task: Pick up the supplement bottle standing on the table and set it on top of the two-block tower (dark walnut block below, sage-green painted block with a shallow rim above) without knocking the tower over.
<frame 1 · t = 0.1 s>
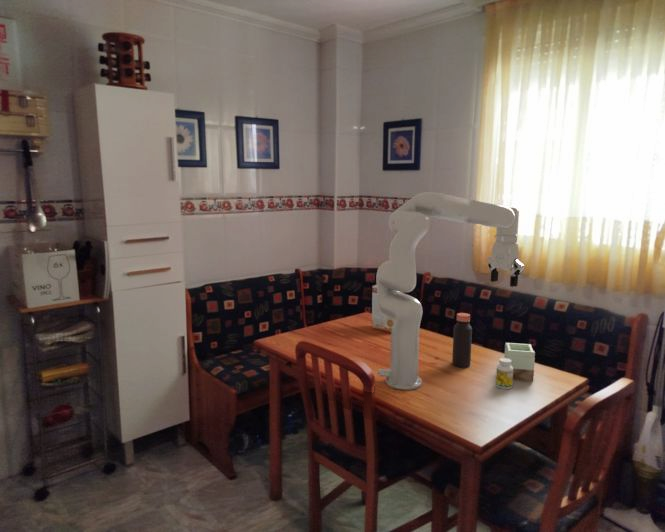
hand: (503, 283, 186), 31 cm above the table, tool pointing down, fingers open, 9 cm apart
supplement bottle: (503, 386, 169), on the table
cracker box: (386, 330, 231), on the table
vinegar: (461, 364, 189), on the table
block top: (518, 364, 177), point 4 cm above the table, touching block lower
block lower: (518, 376, 178), on the table, touching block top
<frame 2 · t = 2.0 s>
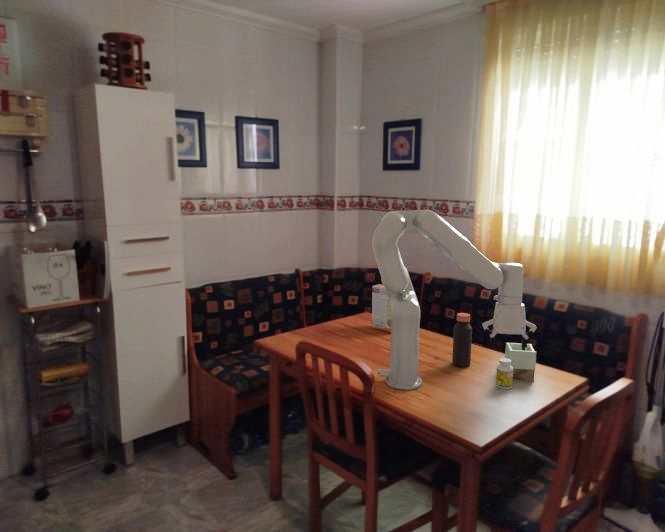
hand: (508, 348, 166), 14 cm above the table, tool pointing down, fingers open, 9 cm apart
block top: (519, 364, 177), point 4 cm above the table
block lower: (518, 376, 178), on the table
everything else where it was.
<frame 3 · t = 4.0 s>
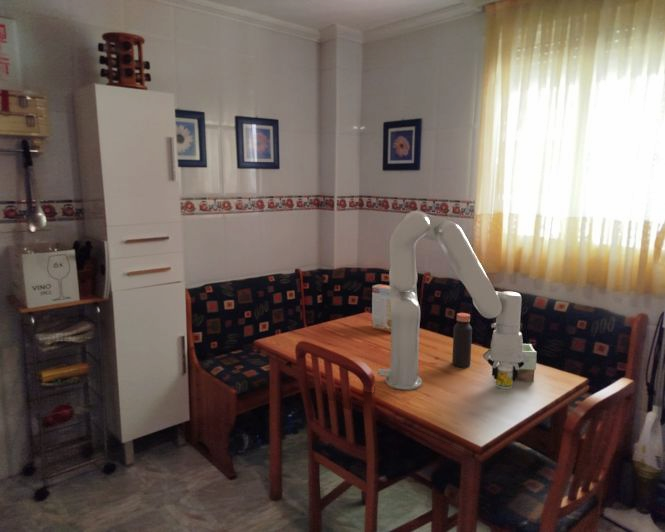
hand: (504, 378, 168), 3 cm above the table, tool pointing down, fingers closed on supplement bottle, 5 cm apart
supplement bottle: (503, 386, 169), on the table, touching gripper
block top: (519, 364, 177), point 4 cm above the table, touching block lower
block lower: (518, 376, 178), on the table, touching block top
everything else where it was.
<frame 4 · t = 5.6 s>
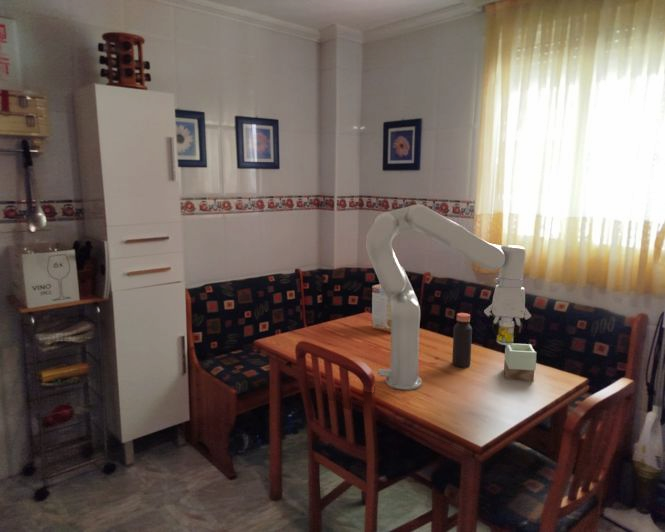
hand: (505, 334, 166), 19 cm above the table, tool pointing down, fingers closed on supplement bottle, 5 cm apart
supplement bottle: (504, 343, 166), point 16 cm above the table, touching gripper
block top: (519, 364, 177), point 4 cm above the table
block lower: (518, 376, 178), on the table
everything else where it was.
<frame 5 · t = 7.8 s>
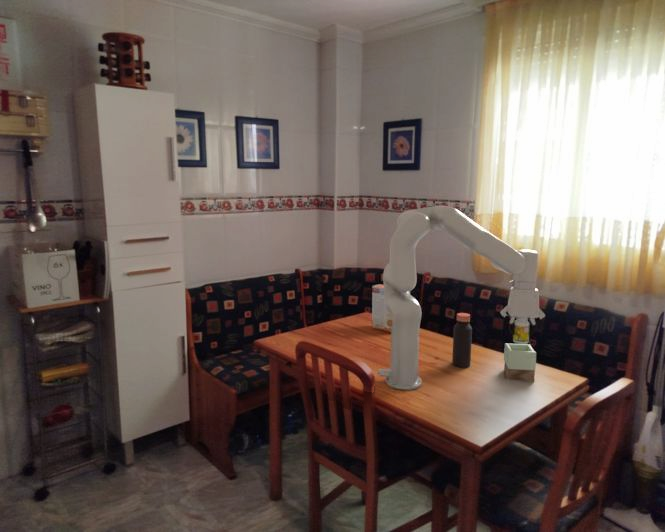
hand: (521, 333, 175), 16 cm above the table, tool pointing down, fingers closed on supplement bottle, 5 cm apart
supplement bottle: (520, 342, 176), point 13 cm above the table, touching gripper
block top: (519, 364, 177), point 4 cm above the table, touching block lower
block lower: (518, 376, 178), on the table, touching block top
everything else where it was.
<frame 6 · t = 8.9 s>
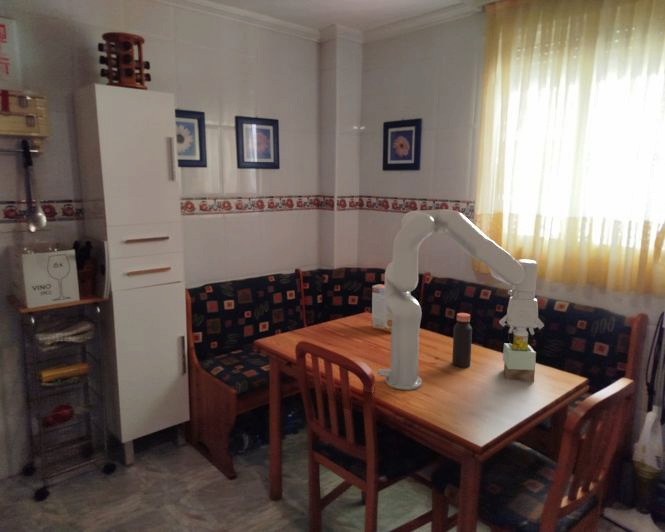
hand: (519, 343, 176), 12 cm above the table, tool pointing down, fingers closed on supplement bottle, 5 cm apart
supplement bottle: (519, 351, 176), point 9 cm above the table, touching gripper
everything else where it was.
when the fingers open (12 cm above the table, at t = 10.0 s): supplement bottle stays where it is, resting on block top.
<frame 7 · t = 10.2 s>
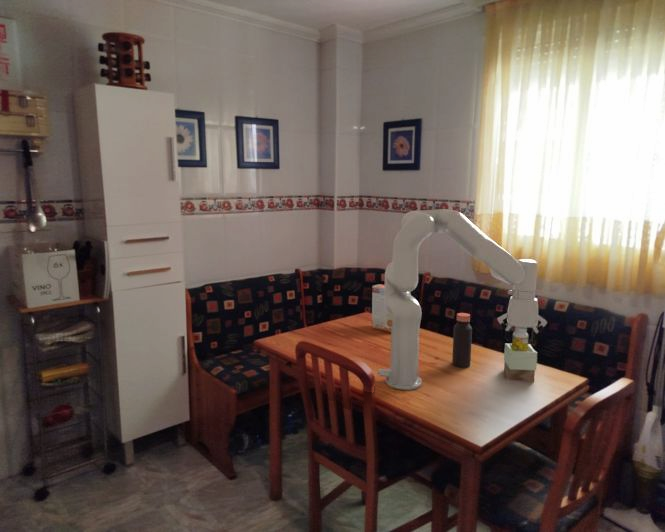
hand: (520, 341, 176), 13 cm above the table, tool pointing down, fingers open, 8 cm apart
supplement bottle: (519, 353, 176), point 9 cm above the table, touching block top
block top: (519, 364, 177), point 4 cm above the table, touching block lower, supplement bottle
everything else where it was.
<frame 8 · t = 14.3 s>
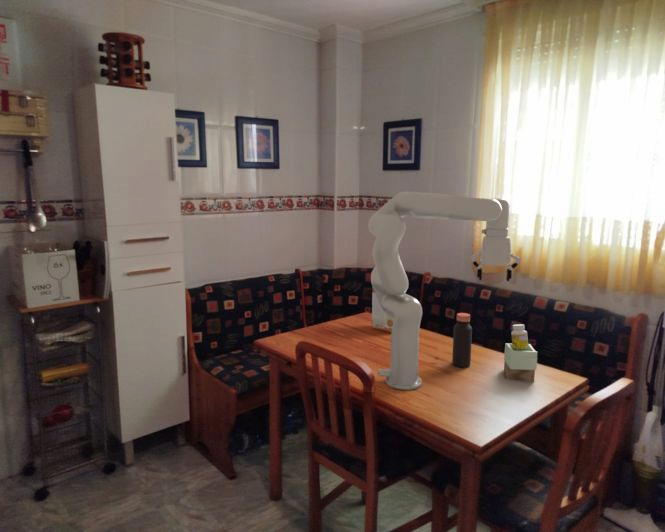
hand: (493, 279, 178), 34 cm above the table, tool pointing down, fingers open, 9 cm apart
at the end: supplement bottle inside the target area on the block lower (0.3 cm from its centre), point 9.2 cm above the block lower's base; supplement bottle tilted 9°; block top moved 0.5 cm from its start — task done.
